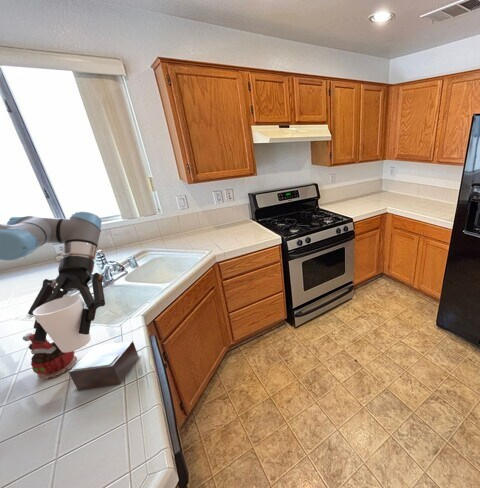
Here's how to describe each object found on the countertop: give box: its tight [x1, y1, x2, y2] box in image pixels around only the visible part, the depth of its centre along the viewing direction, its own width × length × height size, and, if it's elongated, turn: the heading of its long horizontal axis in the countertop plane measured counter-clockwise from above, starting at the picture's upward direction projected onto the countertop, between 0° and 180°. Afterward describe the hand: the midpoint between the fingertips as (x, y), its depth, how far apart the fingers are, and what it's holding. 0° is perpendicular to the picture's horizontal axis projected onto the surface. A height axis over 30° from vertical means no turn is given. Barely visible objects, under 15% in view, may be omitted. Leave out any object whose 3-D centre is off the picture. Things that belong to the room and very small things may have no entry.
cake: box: [22, 332, 78, 380], centre depth 84 cm, size 11×9×18 cm
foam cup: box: [32, 294, 92, 353], centre depth 71 cm, size 10×9×13 cm
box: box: [68, 340, 140, 391], centre depth 83 cm, size 12×11×7 cm
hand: (61, 337), depth 69 cm, fingers closed on foam cup, 9 cm apart
